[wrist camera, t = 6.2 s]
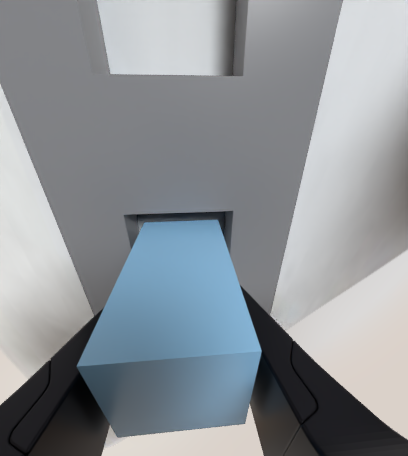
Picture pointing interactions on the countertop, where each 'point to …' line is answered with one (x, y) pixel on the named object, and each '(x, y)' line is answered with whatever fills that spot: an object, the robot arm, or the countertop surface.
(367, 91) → the countertop surface
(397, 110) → the countertop surface
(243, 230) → the grey board with holes
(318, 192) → the countertop surface
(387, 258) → the countertop surface
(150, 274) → the plug
